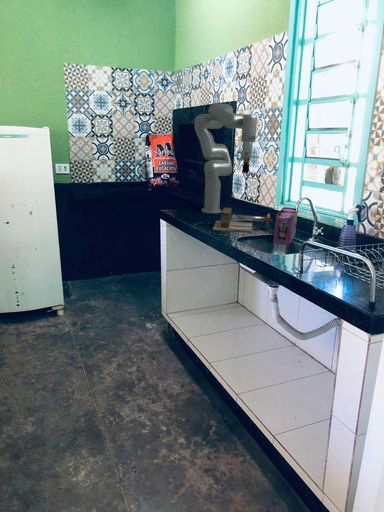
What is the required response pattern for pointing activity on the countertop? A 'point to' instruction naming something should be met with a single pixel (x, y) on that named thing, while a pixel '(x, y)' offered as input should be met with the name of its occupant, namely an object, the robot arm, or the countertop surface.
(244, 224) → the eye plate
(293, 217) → the gum box
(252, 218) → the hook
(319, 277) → the countertop surface
